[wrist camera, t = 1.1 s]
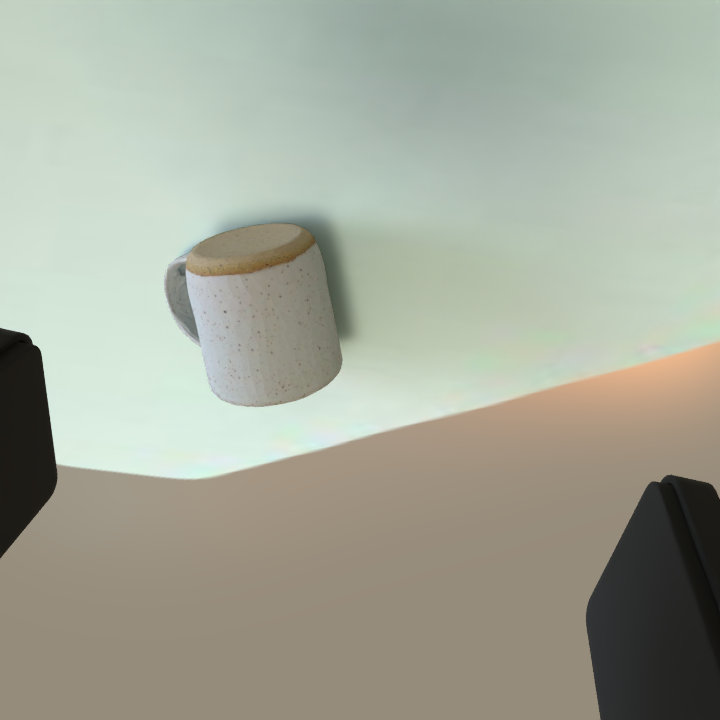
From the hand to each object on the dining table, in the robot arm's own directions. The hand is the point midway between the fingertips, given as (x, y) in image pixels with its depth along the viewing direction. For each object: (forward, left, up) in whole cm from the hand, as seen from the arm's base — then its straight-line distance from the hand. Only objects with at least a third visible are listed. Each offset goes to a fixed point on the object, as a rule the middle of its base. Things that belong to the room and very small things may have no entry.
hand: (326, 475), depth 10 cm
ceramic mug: (+8, -11, -27) cm, 30 cm away
